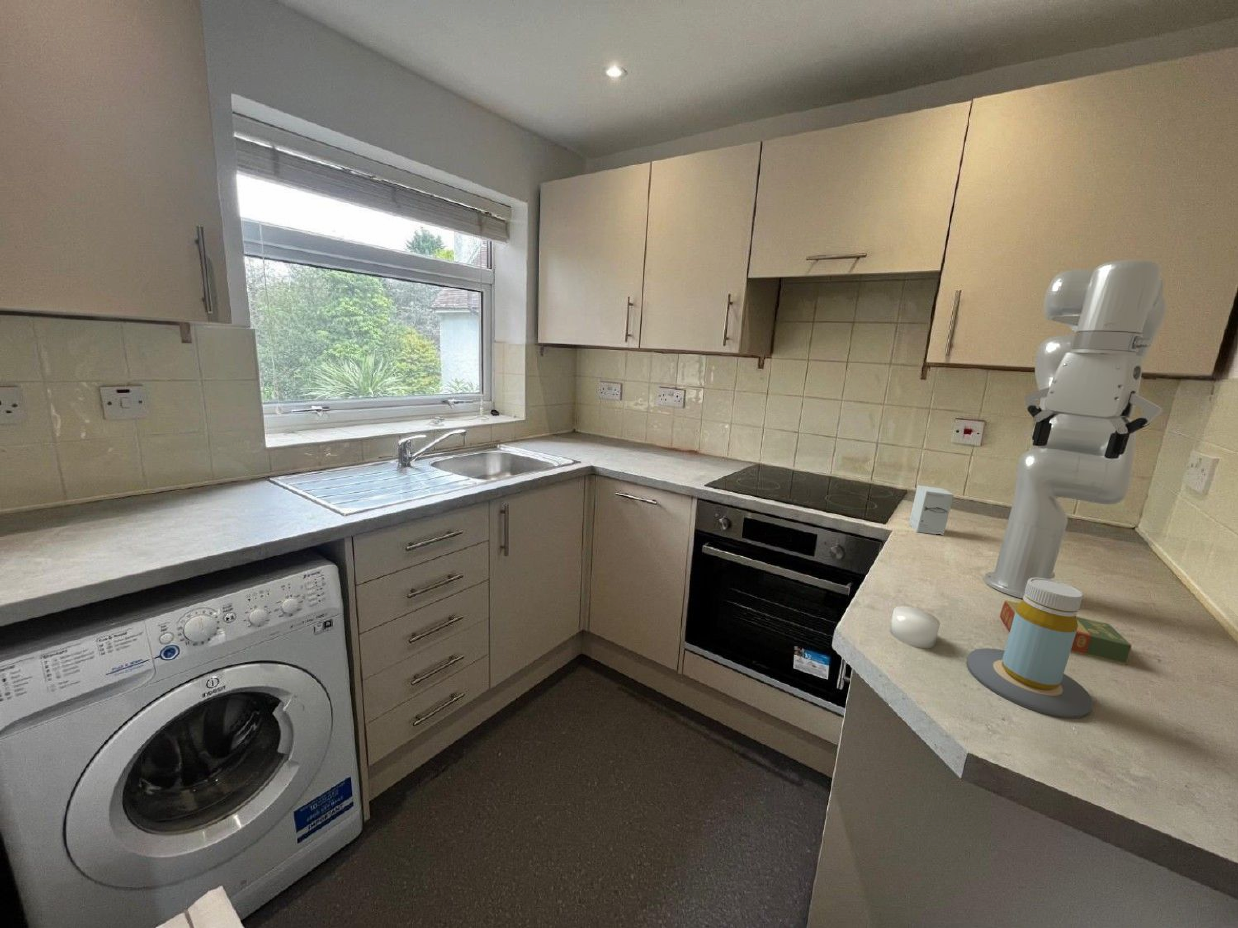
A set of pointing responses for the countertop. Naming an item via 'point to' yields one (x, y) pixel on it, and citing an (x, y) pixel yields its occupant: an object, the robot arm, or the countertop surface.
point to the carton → (1086, 637)
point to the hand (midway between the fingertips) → (1073, 451)
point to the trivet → (1055, 702)
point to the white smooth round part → (914, 627)
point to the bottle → (1042, 634)
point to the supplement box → (930, 510)
